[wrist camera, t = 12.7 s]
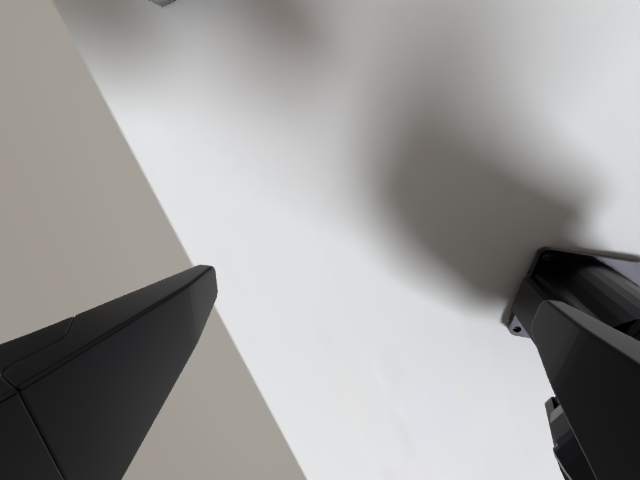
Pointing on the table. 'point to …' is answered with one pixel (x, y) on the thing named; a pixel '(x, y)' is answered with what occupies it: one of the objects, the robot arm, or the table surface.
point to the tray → (162, 2)
